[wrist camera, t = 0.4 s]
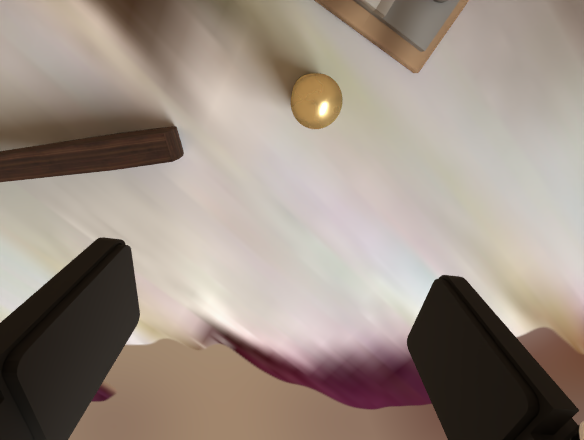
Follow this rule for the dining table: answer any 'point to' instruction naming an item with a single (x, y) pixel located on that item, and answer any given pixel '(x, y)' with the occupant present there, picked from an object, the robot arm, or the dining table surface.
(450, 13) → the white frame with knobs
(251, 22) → the dining table surface
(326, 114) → the pin
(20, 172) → the hammer
